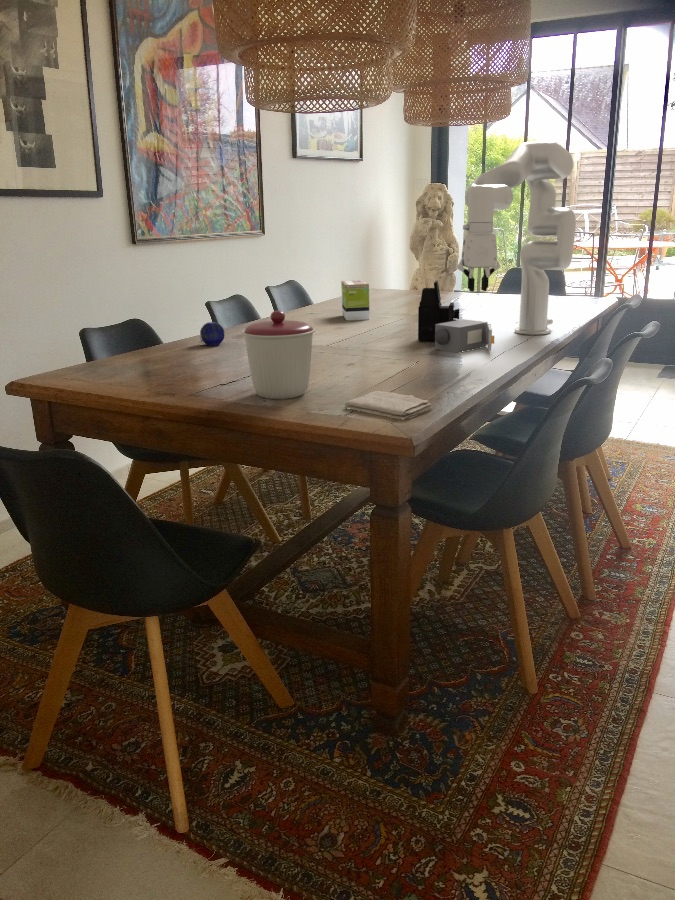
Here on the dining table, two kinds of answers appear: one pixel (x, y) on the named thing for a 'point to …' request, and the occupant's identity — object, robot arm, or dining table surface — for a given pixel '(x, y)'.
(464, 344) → the grey device box
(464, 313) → the dining table surface
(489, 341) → the side door
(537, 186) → the robot arm
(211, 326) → the ball
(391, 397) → the washcloth
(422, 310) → the camera
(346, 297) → the tea box
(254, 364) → the canister
